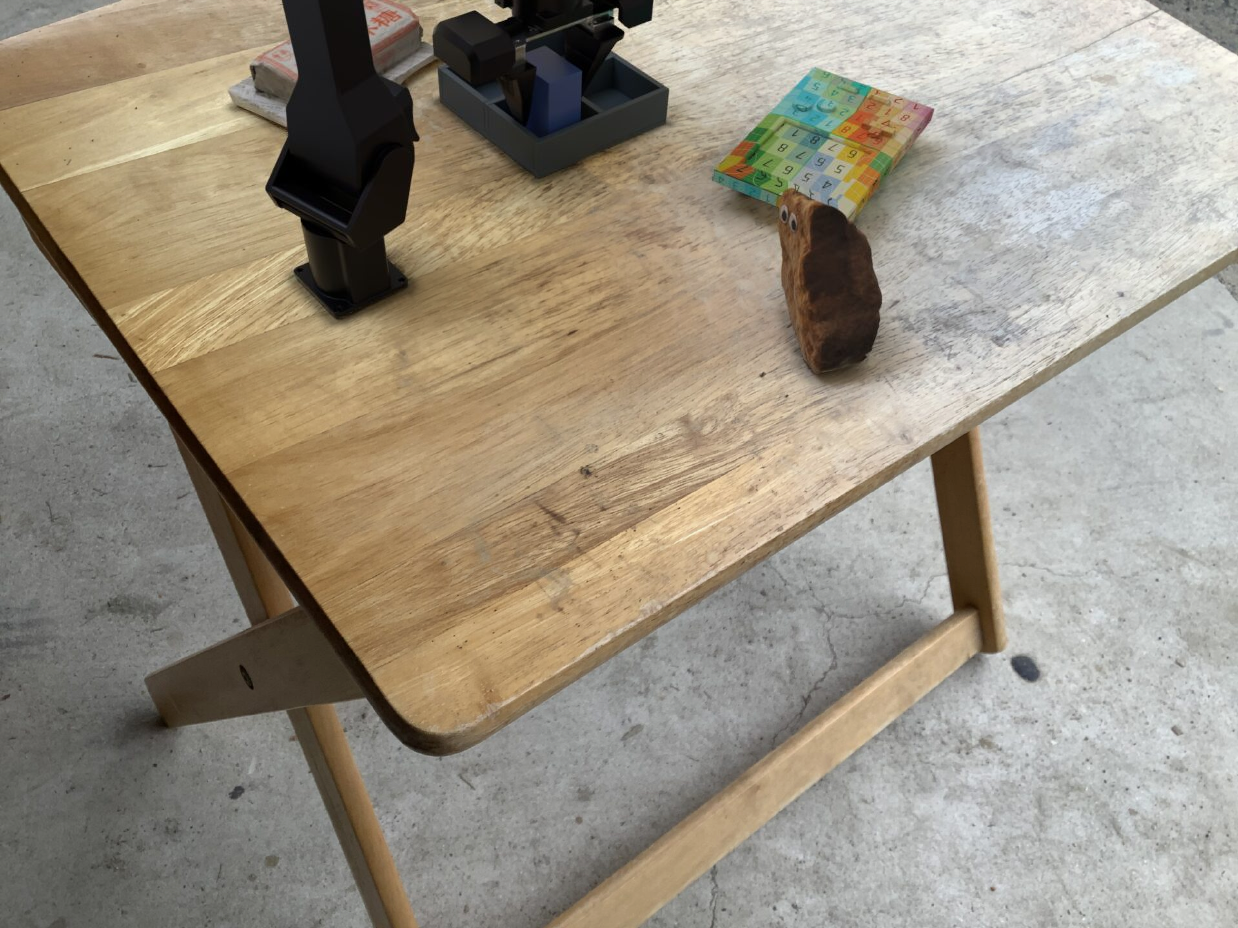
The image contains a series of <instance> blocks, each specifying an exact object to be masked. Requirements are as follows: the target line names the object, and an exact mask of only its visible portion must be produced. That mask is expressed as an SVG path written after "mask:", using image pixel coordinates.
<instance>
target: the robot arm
mask: <svg viewBox="0 0 1238 928" xmlns="http://www.w3.org/2000/svg"><path fill="white" fill-rule="evenodd" d="M654 1H655V0H493V2H494V4H495V5H497V6H498V7H500V8H501V9H502V10H504V9H507V8H508V9H509V10H511V16H508V17H507V18H506V19H503V20H500V21H498V22H493V21H492V20H491V19H489V18H488V17H486V16H485V15H483V14H482V13H481V12H479V11H477V10H476V9H474V10H471V11H467V12H465V13H462V14H459V15H455V16H452V17H449V18H446V19H443V20H440V21H439V22H437V24H436V25H435V26H434V27H433V31H432V34H431V38H432V45H433V52H434V56H436V57H437V59H438V60H440V62H442V63H444V65H445V64H446V65H448V66H449V67H450V68H452V69H453V70H455V71H456V72H457V73H459V74H460V75H461V76H463V77H464V78H465V79H467V80H468V81H469V82H471V83H478V84H482V83H485V82H487V81H490V80H493V79H496V78H497V80H498V82H499V85H500V87H501V89H502V92H503V94H504V96H505V99H506V101H507V104H508V106H509V108H510V111H511V113H512V116H513V118H514V120H516V121H517V122H518V123H520V124H521V125H522V126H524V127H526V125H527V122H528V119H529V115H530V109H531V103H532V96H533V90H534V84H535V78H536V71H537V67H536V66H535V65H533V64H532V63H530V62H529V61H528V60H526V46H527V43H526V42H529V41H532V40H534V39H537V38H540V37H543V36H546V35H548V34H551V33H554V32H557V31H560V30H562V32H563V35H564V39H565V60H567V61H568V62H570V63H571V64H573V65H574V66H576V67H577V68H578V69H580V70H581V71H582V85H581V98H582V96H583V95H584V93H585V91H586V90H587V88H588V86H589V84H590V83H591V81H592V79H593V78H594V76H595V74H596V73H597V71H598V69H599V68H600V66H601V65H602V63H603V62H604V60H605V59H606V58H607V56H608V55H609V53H610V52H611V51H613V49H614V47H615V46H616V45H617V43H618V42H620V41H622V40H623V39H624V38H625V34H626V32H625V30H624V29H622V28H620V27H619V26H618V25H616V24H615V16H614V13H615V10H616V9H617V21H618V22H619V23H620V24H621V25H622V26H624V27H625V28H627V29H628V30H630V29H633V28H636V27H638V26H640V25H643V24H646V23H649V22H651V21H653V13H654V12H653V11H654ZM281 4H282V8H283V13H284V16H285V21H286V26H287V30H288V34H289V39H291V43H292V48H293V52H294V56H295V61H296V65H297V70H298V78H297V80H296V82H295V84H294V87H293V89H292V91H291V94H290V96H289V98H288V101H287V103H286V119H287V127H286V128H287V129H286V130H287V136H286V139H285V141H284V143H283V146H282V147H281V150H280V152H279V154H278V157H277V159H276V161H275V164H274V166H273V168H272V171H271V172H270V175H269V177H268V179H267V182H266V184H265V186H264V190H265V193H266V194H267V195H268V196H269V198H270V200H271V201H272V203H273V204H274V206H276V207H278V209H279V208H280V209H282V210H285V211H287V212H289V213H291V214H293V215H295V216H296V217H298V218H299V220H300V225H301V231H302V235H303V239H304V244H305V250H306V254H307V260H308V262H305V263H303V264H300V265H298V266H296V267H294V268H293V275H294V277H295V279H297V280H298V281H299V283H300V284H301V285H302V286H303V287H304V288H305V289H306V290H307V291H308V292H309V293H310V294H311V295H312V296H313V297H314V298H315V299H316V300H317V301H318V302H319V303H320V304H321V305H322V306H323V307H324V308H325V309H326V310H327V311H328V312H329V313H330V314H331V315H332V316H333V317H334V318H337V319H338V318H344V317H345V316H347V315H349V314H352V313H354V312H357V311H358V310H361V309H363V308H365V307H367V306H368V305H371V304H373V303H376V302H377V301H380V300H382V299H384V298H387V297H389V296H390V295H393V294H395V293H397V292H399V291H402V290H404V289H406V288H407V287H408V286H409V284H410V283H409V278H408V277H407V276H406V275H405V274H404V273H403V272H402V271H401V270H400V269H399V268H398V267H397V266H396V265H394V264H393V262H392V261H390V259H388V255H387V247H386V241H385V236H387V235H389V234H390V233H391V232H392V231H394V230H395V229H397V228H398V227H400V226H401V225H403V224H404V223H405V221H406V218H407V213H408V206H409V199H410V193H411V187H412V180H413V174H414V169H415V162H416V156H415V155H416V152H415V151H416V149H415V145H414V144H415V143H418V142H420V140H421V137H420V135H419V133H418V132H417V129H416V125H415V122H414V100H413V97H412V94H411V91H410V89H409V88H408V87H406V86H405V85H402V84H398V83H396V82H394V81H392V80H390V79H387V78H385V77H383V76H381V75H379V74H378V73H377V71H376V69H375V66H374V61H373V55H372V49H371V43H370V37H369V32H368V26H367V20H366V14H365V8H364V2H363V0H281Z"/></svg>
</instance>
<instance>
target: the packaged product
mask: <svg viewBox="0 0 1238 928" xmlns="http://www.w3.org/2000/svg"><path fill="white" fill-rule="evenodd" d="M363 2H364V8H365V14H366V20H367V26H368V32H369V37H370V43H371V49H372V55H373V61H374V66H375V69H376V71H377V73H378V74H379V75H381V76H383V77H385V78H387V79H390V80H392V81H394V82H396V83H398V84H400V85H402V84H403V83H404V82H405V80H406V79H407V78H409V77H410V76H412V75H413V74H414V73H416V72H417V71H419V70H420V69H421V68H423V67H425V66H427V65H428V64H430V63H432V62H434V61H435V60H437V59H438V58H437V57H436V56H434V52H433V44H431V43H428V42H427V41H422V38H423V37H424V28H423V27H422V24H421V23H420V19H419V16H418V15H417V14H416V13H415V12H414V11H413V10H412V9H411V8H410V7H408V6H407V5H402V4H401V3H397V2H394V1H393V0H363ZM249 71H250V76H248V77H247V78H245V79H242V80H241V81H240V82H238V83H236V84H234V85H232V86H230V87H228V88H227V93H228V95H229V97H230V99H231V101H232V104H233V105H236V106H238V107H240V108H243V109H245V110H246V111H250V112H252V113H254V114H256V115H259V116H261V117H263V118H265V119H267V120H269V121H271V122H274V123H276V124H278V125H281V126H282V127H285V128H287V119H286V103H287V101H288V98H289V96H290V94H291V91H292V89H293V87H294V84H295V82H296V80H297V78H298V70H297V65H296V61H295V56H294V52H293V48H292V43H291V39H290V38H289V39H287V40H286V41H284V42H282V43H280V44H278V45H276V46H275V47H273V48H271V49H269V50H267V51H265V52H263V53H262V54H259V55H258V56H256V57H255V58H254V59H252V60H251V62H250V64H249Z"/></svg>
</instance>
